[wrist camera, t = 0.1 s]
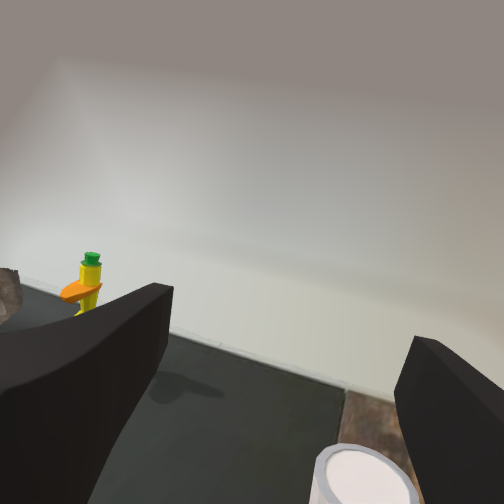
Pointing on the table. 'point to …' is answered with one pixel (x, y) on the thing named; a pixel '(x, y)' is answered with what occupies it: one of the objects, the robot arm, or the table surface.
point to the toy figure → (85, 284)
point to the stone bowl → (9, 293)
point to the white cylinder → (359, 478)
